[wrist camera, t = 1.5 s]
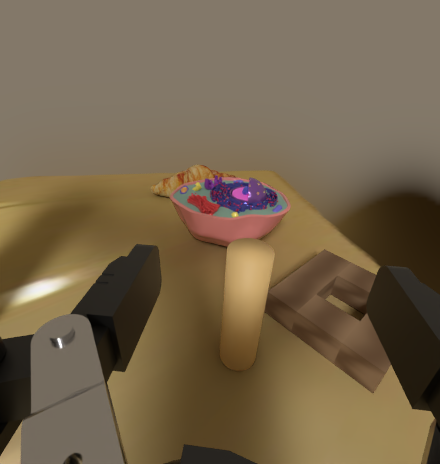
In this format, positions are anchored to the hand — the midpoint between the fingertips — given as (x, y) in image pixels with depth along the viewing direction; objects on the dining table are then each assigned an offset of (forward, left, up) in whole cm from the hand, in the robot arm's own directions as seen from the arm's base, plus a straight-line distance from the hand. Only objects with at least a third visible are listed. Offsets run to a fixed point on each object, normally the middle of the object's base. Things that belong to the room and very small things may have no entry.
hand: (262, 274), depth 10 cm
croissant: (-45, +33, -21) cm, 59 cm away
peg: (-7, +8, -21) cm, 24 cm away
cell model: (-25, +24, -21) cm, 41 cm away
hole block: (-2, +22, -21) cm, 31 cm away
